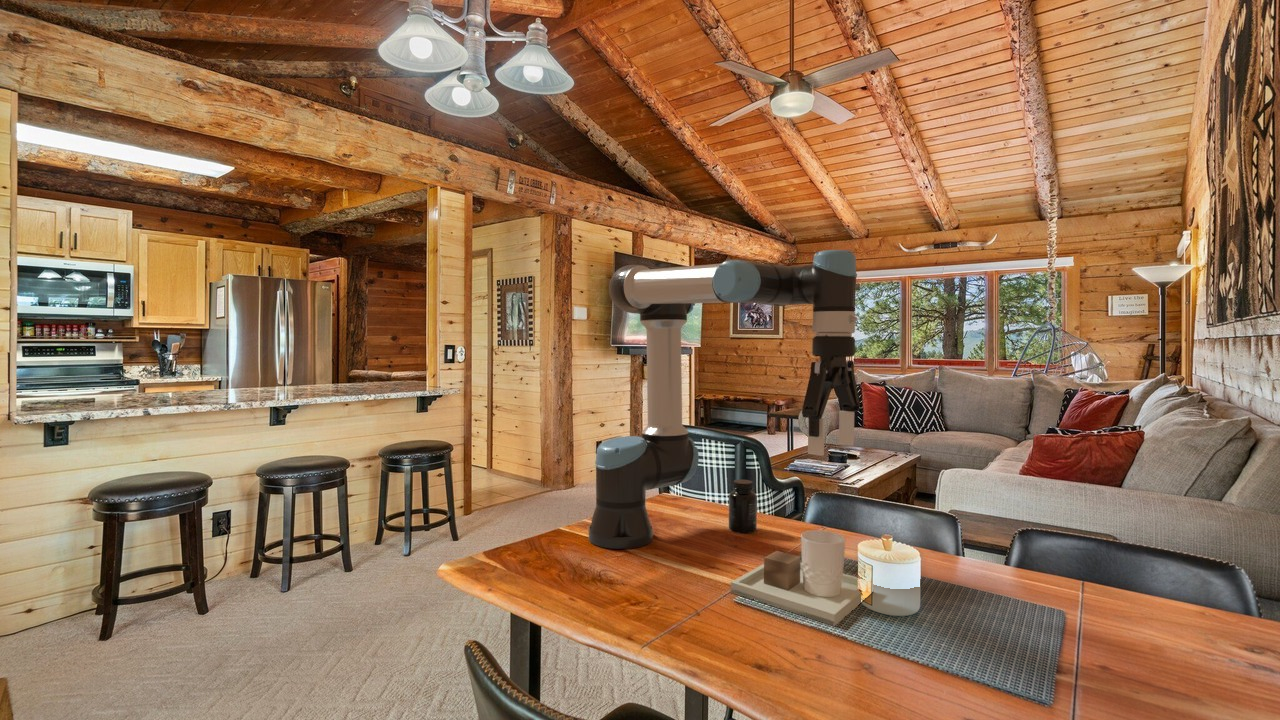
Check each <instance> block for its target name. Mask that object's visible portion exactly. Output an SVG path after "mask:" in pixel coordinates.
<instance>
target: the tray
mask: <svg viewBox="0 0 1280 720" xmlns="http://www.w3.org/2000/svg"><path fill="white" fill-rule="evenodd" d="M857 577H858V576H854V575H850V574H846V573H843V578H842V590H841V593H840V595H837V596H835V597H821V596H816V595H812V594H810V593H808V592H807V591H805V589H804V587H803V573H802V561H801V562H800V583H799V584H797V585H796V586H794V587H793V588H791V589H790V590H788V591H787V590H784V589H780V588H777V587H774V586H770V585H767V584H764V563H763V564H761V565H759V566H757V567H755V568H754V569H752V570H750V571H748V572H746V573H744V574H743V575H741V576H739V577H737V578H736V579H734V580H732V581H730V594H733V595H735V596H740V597H742V596H744V597H743V598H745V597H748V598H751V599H755V600H758V601H760V602H763V603H762V604H764V603H767V604H770V605H773V606H775V607H774V608H776V607H777V609H779V608H781V609H780V610H782V609H783V611H785V610H787V611H786V612H788V611H790V612H789V613H791V612H793V613H792V614H794V613H796V614H795V615H798V614H799V615H798V616H801V615H802V616H801V617H804V616H805V617H804V618H807V617H808V619H810V618H811V620H813V619H814V620H813V621H816V620H817V621H816V622H819V621H820V622H819V623H822V622H823V623H822V624H825V623H826V625H829V626H832V627H835V626H837V625H838V624H839V623H840V622H841V621H842V620H843V619H845V618H846V617H847V616H848V615H850V614H851V613H852V612H853V611H854V610H856V608H857V607H858V605H859V604H860V603H861V592H860V591H859V590H858V589H857ZM748 598H747V599H748ZM751 599H750V600H751ZM760 602H759V603H760ZM767 604H766V605H767ZM861 604H862V603H861ZM861 604H860V605H861ZM770 605H769V606H770ZM860 605H859V606H860ZM773 606H772V607H773ZM852 610H853V611H852ZM851 611H852V612H851ZM845 616H846V617H845ZM844 617H845V618H844Z"/></svg>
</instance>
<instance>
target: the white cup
mask: <svg viewBox="0 0 1280 720" xmlns="http://www.w3.org/2000/svg"><path fill="white" fill-rule="evenodd" d="M800 544H801V545H800V547H801V553H800V554H801V563H802V573H803V587H804V589H805V591H807V592H808V593H810V594H812V595H816V596H821V597H835V596H837V595H840V593H841V590H842V578H843V574H844V568H845V567H844V565H845V553H846V551H845V550H846V537H845V536H843V535H842V534H840V533H839V532H835V531H832V530H831V531H830V530H822V529H811V530H805V531H803V532H802V533H801V534H800Z"/></svg>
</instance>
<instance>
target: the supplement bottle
mask: <svg viewBox="0 0 1280 720" xmlns="http://www.w3.org/2000/svg"><path fill="white" fill-rule="evenodd" d="M732 489H733V491H731V492H730V493H729V494H728V495H729V496H728V529H729V530H730V531H731V532H732V533H736V534H743V535H745V534H746V535H747V534H748V533H749V534H752V533H755V532H756V531H757V526H758V517H757V515H758V496H757V494H756V493H755V492H754V491H753V490H754V482H753V480H749V479H734V480H733V482H732Z"/></svg>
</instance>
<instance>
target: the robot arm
mask: <svg viewBox="0 0 1280 720" xmlns="http://www.w3.org/2000/svg"><path fill="white" fill-rule="evenodd" d="M856 260H857V259H856V255H855V253H854V252H853V251H851V250H845V249H827V250H826V249H825V250H821V251H817V252H815V253H814V255H813V261H812V263H811V264H805V265H795V266H794V265H793V266H787V265H780V264H771V263H770V264H769V263H759V262H754V261H748V260H743V259H731V260H724V261H723V262H722V263H713V264H701V265H700V264H699V265H687V266H676V267H675V266H674V267H671V266H669V267H667V266H657V265H655V266H653V265H644V264H643V265H642V264H628V265H624V266H622V267H620V268H618V269H617V270H616V271H615V272H614V273H613V274H612V276H611V278H610V280H609V285H608V292H609V296H610V299H611V301H612V303H613V304H614V305H615V306H616V307H617V308H618V309H620V310H621V311H623V312H626V313H631V314H637V315H639V318H640V319H639V322H640V324H641V325H642V326H643V327H644V328H645V331H646V333H645V334H646V383H647V384H646V385H647V386H646V391H647V395H646V396H647V402H646V403H647V425H646V427H645V428H644V429H643V430H642V431H641V436H636V435H635V436H634V435H626V436H619V437H612V438H609V439H607V440H603V441H602V442H601V443H599V445H598V446H597V448H596V454H595V455H596V457H595V499H596V500H595V501H596V502H595V509H594V511H593V515H592V519H591V523H590V525H589V527H588V541H589V542H590V543H591V544H592V545H595V546H597V547H599V548H600V547H602V548H606V549H614V550H615V549H616V550H620V549H621V550H624V549H626V550H627V549H635V548H639V547H644V546H646V545H648V544H650V543H651V542H652V541H653V539H654V530H653V525H651V521H650V517H649V513H648V510H647V507H646V505H647V504H646V493H647V491H649V490H654V489H659V488H661V489H662V488H665V487H675V486H677V485H680V484H683V483H686V482H687V481H690V480H691V478H692V477H693V476H694V475H695V473H696V472H697V470H698V465H699V457H700V456H699V450H698V447H697V446H695V445H696V443H695V441H694V440H693V439H691V438H690V437H689V430H688V429H687V428H686V427H685V426H684V424H683V397H682V396H683V388H682V384H683V383H682V382H683V380H682V376H683V375H682V374H683V373H682V329H683V326H685V324H686V323H687V322H688V314H690V313H691V312H692V311H693V310H694V306H696V304H716V303H717V304H719V303H721V304H723V303H724V304H725V303H727V304H733V303H735V304H739V303H740V304H742V303H743V304H747V303H748V304H762V305H763V304H766V305H767V306H772V307H785V306H797V305H798V306H799V305H812V327H811V328H812V329H811V330H812V331H811V332H812V334H815V336H813V338H812V340H811V341H812V348H811V349H812V350H811V353H812V355H813V357H819V358H820V359H819V361H812V362H810V363H811V364H810V374H809V379H808V383H807V387H806V392H805V396H804V401H803V404H802V408H801V415H802V418H808V419H807V421H808V423H807V426H808V427H807V454H808V455H814V456H819V457H820V456H821V457H823V456H824V455H825V419H826V418H822V417H823V415H824V412H825V410H826V407H827V404H828V401H829V399H830V395H831V392H832V390H833V389H834V391H835V394H836V396H837V399H838V402H839V405H840V409H841V410H839V412H838V413H839V414H838V415H839V416H838V445H844V446H852V447H853V446H854V444H855V412H860V409H861V407H860V405H861V404H860V399H859V392H858V387H857V383H856V376H855V367H854V365H855V363H854V360H850V359H849V360H847V359H846V358H851V357H854V356H855V353H856V338H855V336H852V334H854V333H856V323H857V321H858V320H859V319H858V317H857V316H856V291H857V287H856V286H857V277H858V274H857V262H856Z"/></svg>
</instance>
